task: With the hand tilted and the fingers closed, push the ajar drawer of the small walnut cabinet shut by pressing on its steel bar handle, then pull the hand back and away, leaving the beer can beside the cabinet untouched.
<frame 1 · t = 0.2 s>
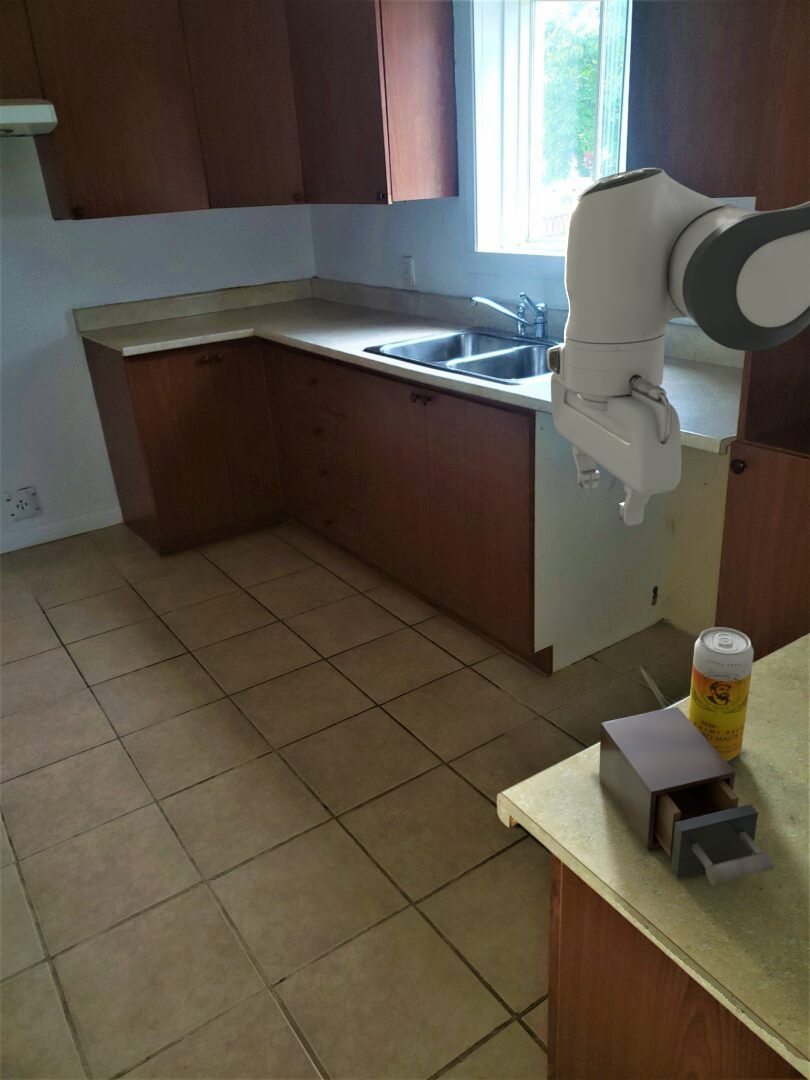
hand: (608, 503, 81), 33 cm above the countertop, tool pointing down, fingers open, 8 cm apart
drawer: (700, 823, 80), point 4 cm above the countertop, slide at 3.5 cm
cabinet: (660, 802, 89), on the countertop
beer can: (712, 749, 96), on the countertop
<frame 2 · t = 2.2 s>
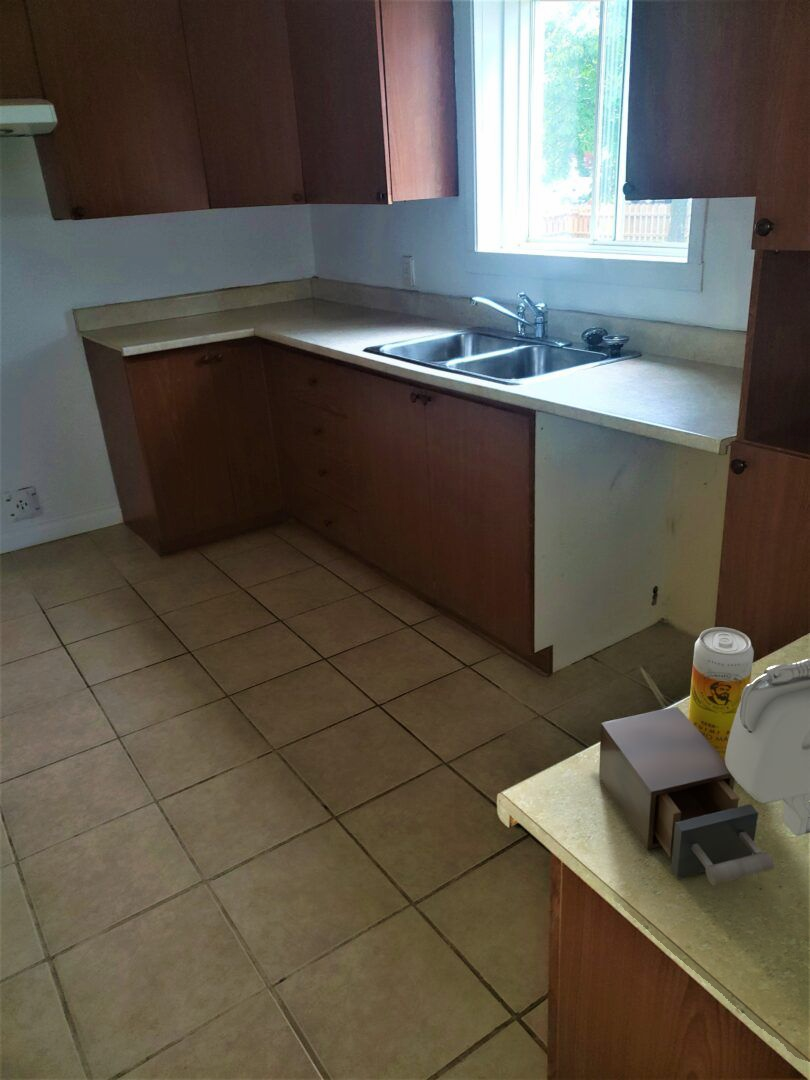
nothing on the countertop moved.
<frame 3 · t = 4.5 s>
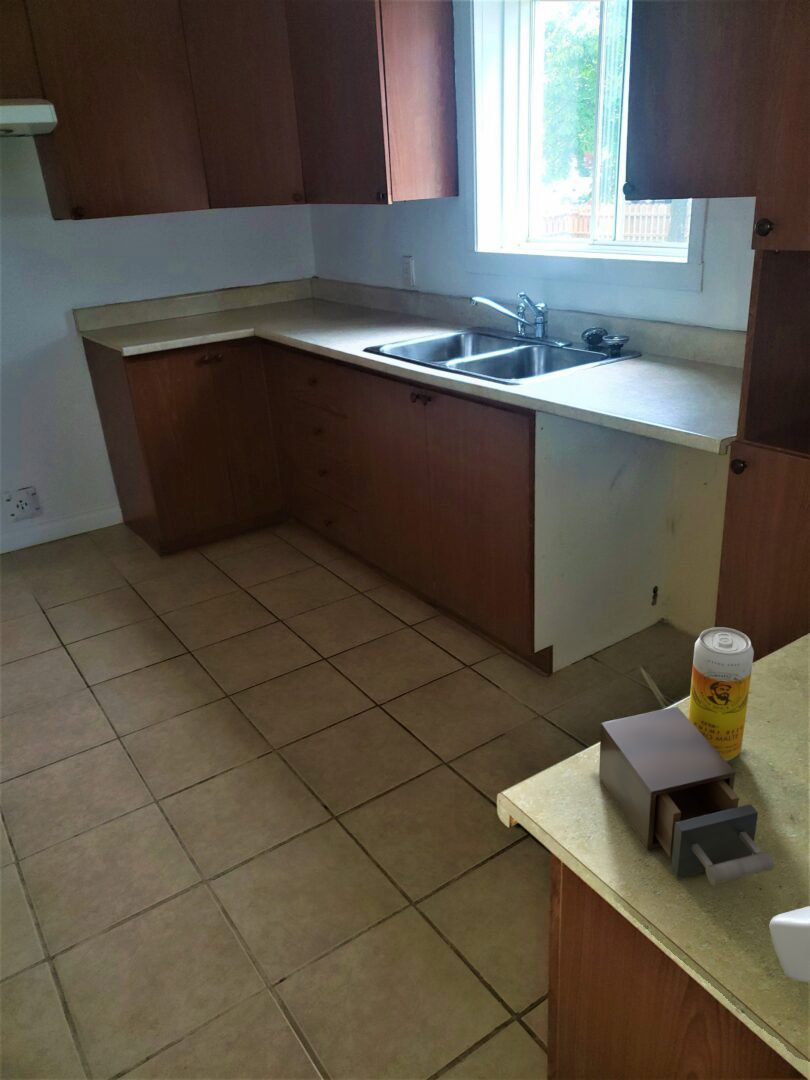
nothing on the countertop moved.
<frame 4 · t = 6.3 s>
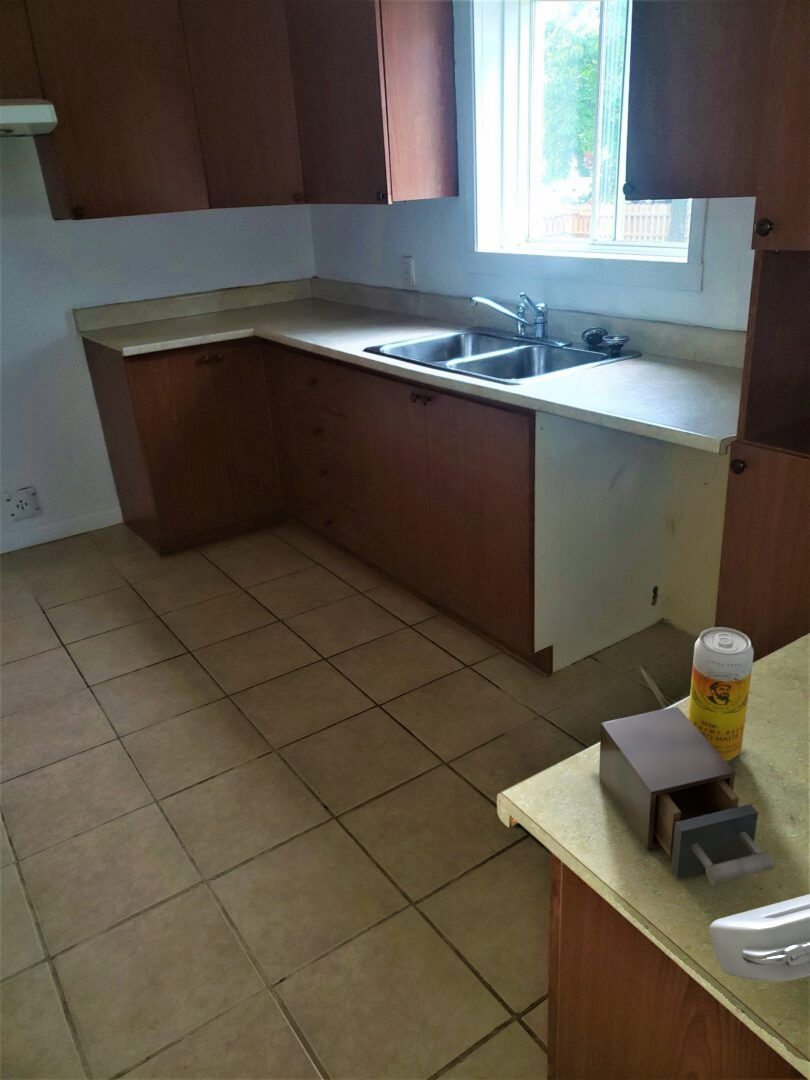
hand: (793, 910, 67), 7 cm above the countertop, tool tilted 45°, fingers closed
nothing on the countertop moved.
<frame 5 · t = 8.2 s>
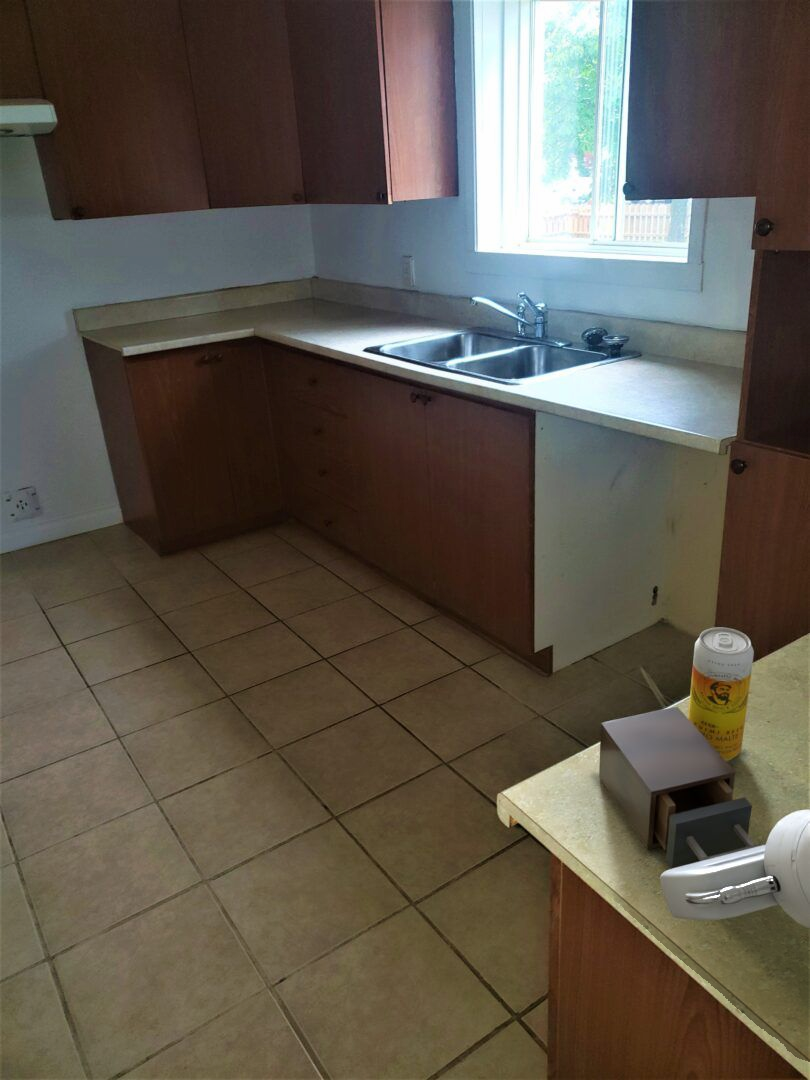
hand: (740, 865, 74), 5 cm above the countertop, tool tilted 45°, fingers closed, pressing on drawer
drawer: (695, 816, 81), point 4 cm above the countertop, slide at 2.5 cm, touching gripper
everything else where it was.
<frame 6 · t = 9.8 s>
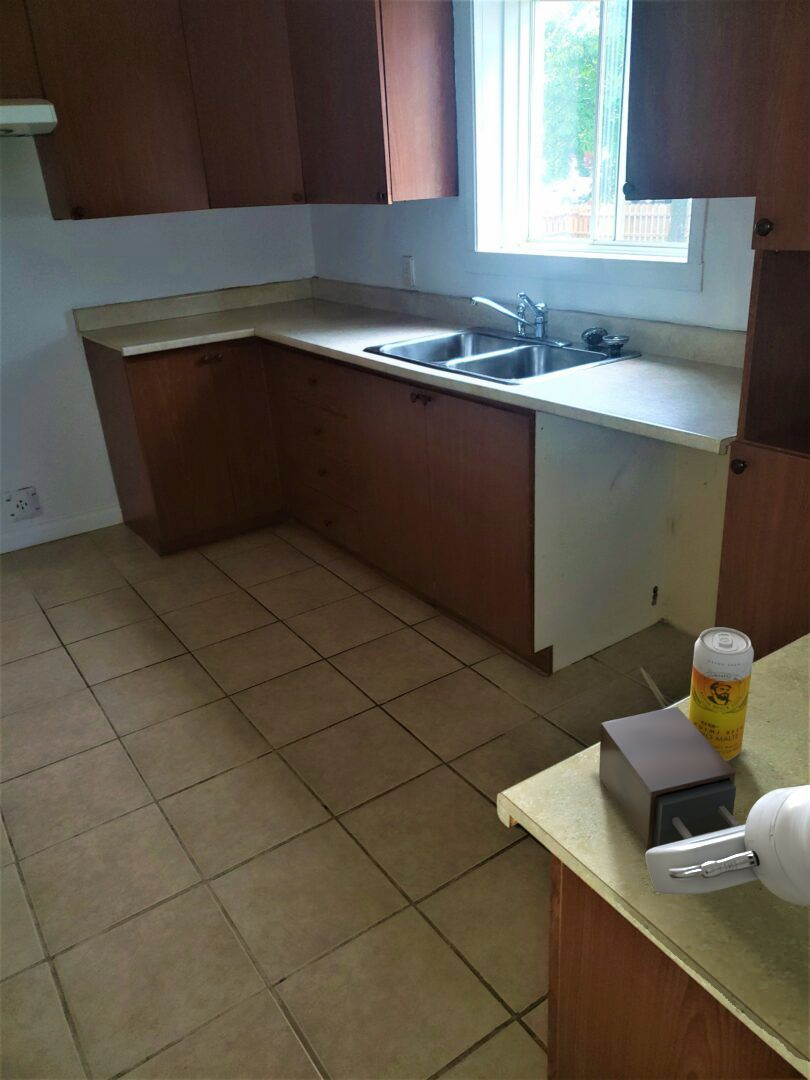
hand: (724, 845, 76), 5 cm above the countertop, tool tilted 45°, fingers closed
drawer: (681, 798, 84), point 4 cm above the countertop, slide at 0.0 cm, touching cabinet
everything else where it was.
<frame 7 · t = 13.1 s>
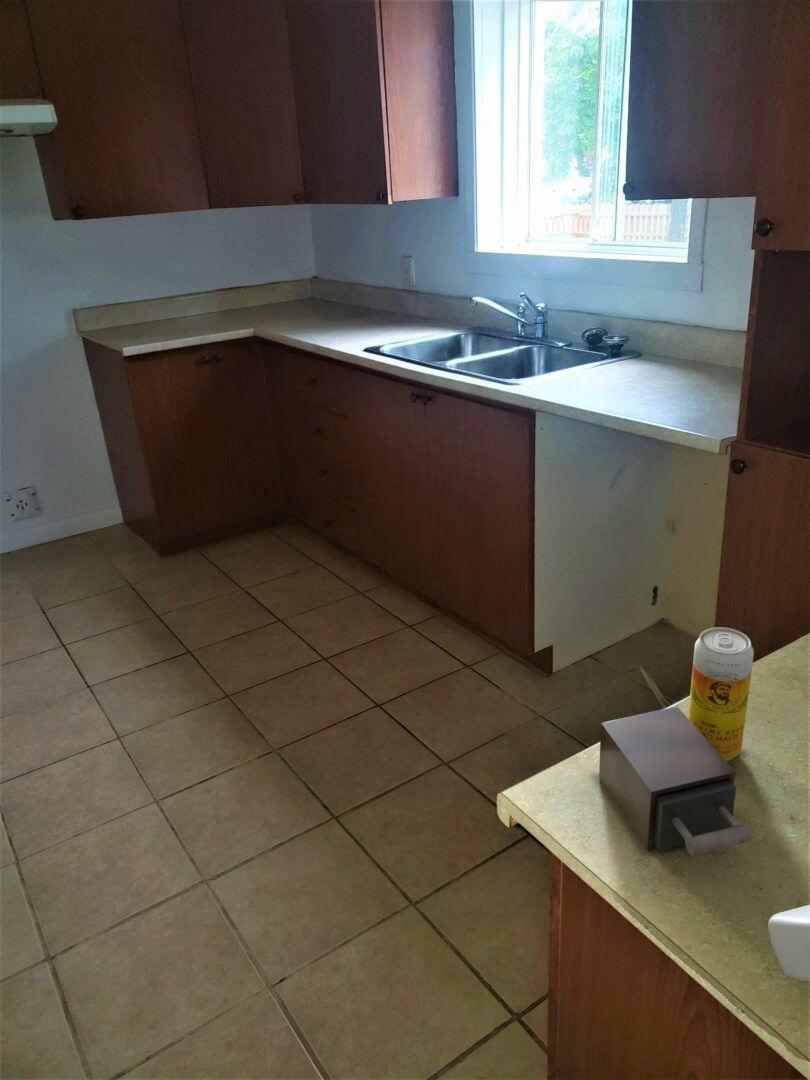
nothing on the countertop moved.
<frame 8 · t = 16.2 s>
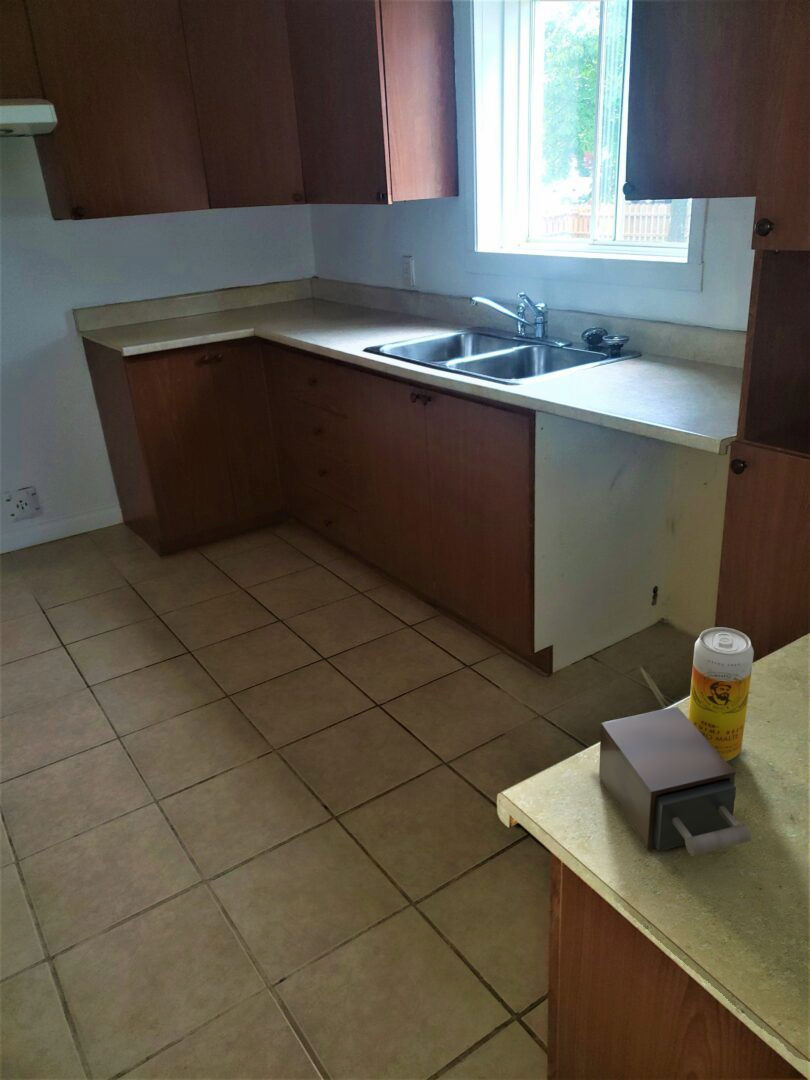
nothing on the countertop moved.
at the end: drawer slide at 0.0 cm; beer can moved 0.2 cm from its start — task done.
